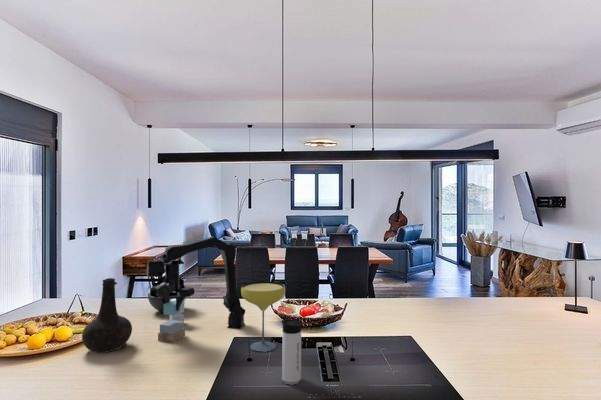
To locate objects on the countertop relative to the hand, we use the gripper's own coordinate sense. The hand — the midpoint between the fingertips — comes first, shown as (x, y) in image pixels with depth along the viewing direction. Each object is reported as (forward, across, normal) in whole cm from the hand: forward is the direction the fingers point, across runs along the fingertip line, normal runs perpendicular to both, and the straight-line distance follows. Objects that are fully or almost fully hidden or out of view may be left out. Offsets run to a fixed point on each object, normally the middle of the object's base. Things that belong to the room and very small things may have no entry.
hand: (172, 310), depth 160 cm
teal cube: (+1, 0, 0) cm, 1 cm away
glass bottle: (+12, -18, -17) cm, 28 cm away
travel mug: (+12, +61, -23) cm, 66 cm away
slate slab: (+9, 0, 0) cm, 9 cm away
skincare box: (+12, -8, +16) cm, 22 cm away
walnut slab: (+12, 0, 0) cm, 12 cm away
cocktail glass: (+12, +42, +1) cm, 44 cm away
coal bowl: (+12, -25, +33) cm, 43 cm away
